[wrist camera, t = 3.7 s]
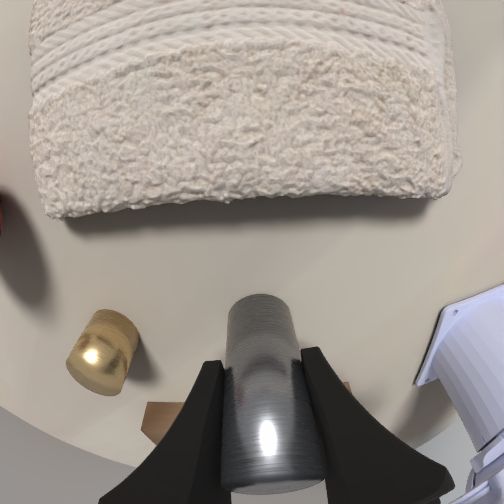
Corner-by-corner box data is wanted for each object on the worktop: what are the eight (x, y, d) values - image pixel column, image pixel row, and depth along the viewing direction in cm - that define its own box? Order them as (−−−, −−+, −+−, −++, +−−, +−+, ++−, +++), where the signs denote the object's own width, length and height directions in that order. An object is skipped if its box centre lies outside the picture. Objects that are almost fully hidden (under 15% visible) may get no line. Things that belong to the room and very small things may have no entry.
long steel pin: (288, 289, 12) (329, 464, 5) (292, 337, 13) (322, 486, 6) (221, 298, 12) (208, 475, 5) (234, 345, 13) (233, 496, 6)
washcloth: (433, 187, 11) (474, 207, 8) (65, 217, 11) (28, 243, 8) (410, -23, 6) (442, -42, 3) (53, 4, 6) (19, -10, 3)
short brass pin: (126, 307, 12) (101, 356, 9) (147, 349, 14) (131, 398, 11) (83, 310, 13) (55, 354, 9) (105, 349, 14) (86, 393, 11)
